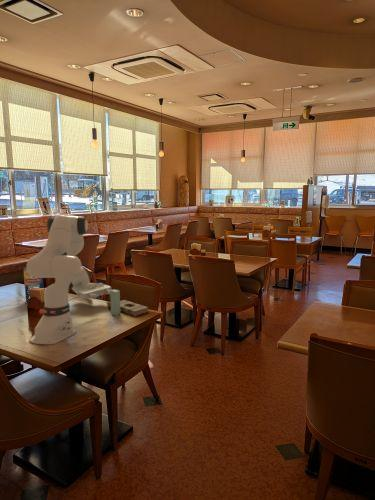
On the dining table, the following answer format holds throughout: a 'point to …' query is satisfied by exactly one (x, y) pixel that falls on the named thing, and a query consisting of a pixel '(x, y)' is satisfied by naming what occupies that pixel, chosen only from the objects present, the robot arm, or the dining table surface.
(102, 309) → the dining table surface
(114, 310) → the pale green tall block
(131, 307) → the grey slab with hole
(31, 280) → the beverage box
